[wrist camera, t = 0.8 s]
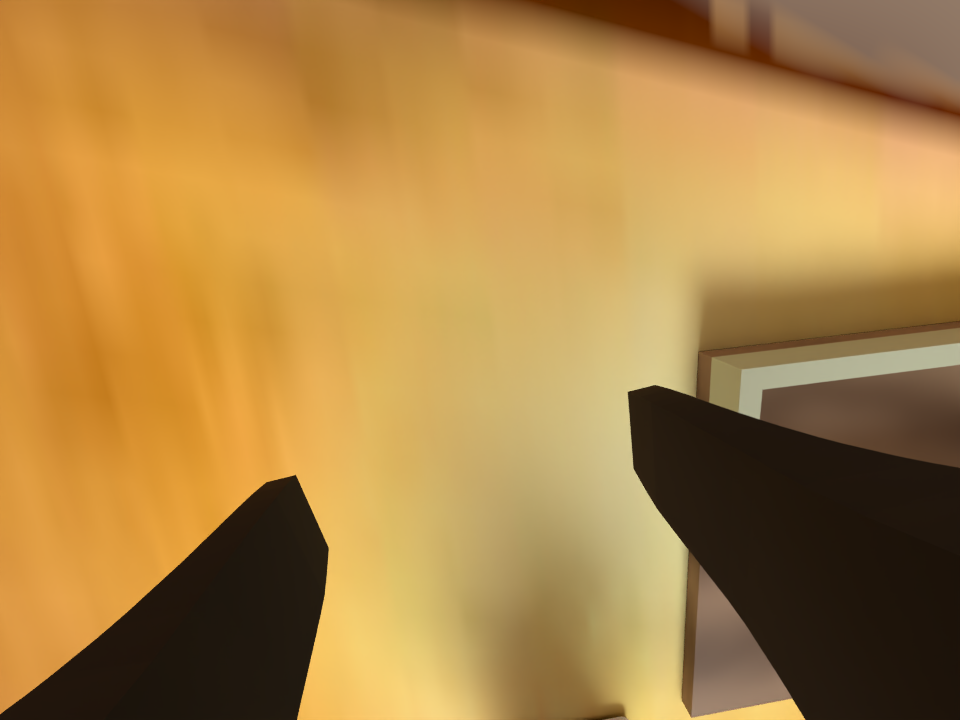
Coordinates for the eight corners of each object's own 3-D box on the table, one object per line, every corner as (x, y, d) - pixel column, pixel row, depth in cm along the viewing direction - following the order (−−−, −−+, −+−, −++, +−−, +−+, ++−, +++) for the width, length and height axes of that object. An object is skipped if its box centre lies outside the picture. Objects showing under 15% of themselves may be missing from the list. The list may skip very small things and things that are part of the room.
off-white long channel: (1017, 413, 23) (1072, 429, 21) (706, 456, 21) (733, 477, 19) (1042, 317, 21) (1102, 325, 20) (711, 357, 20) (741, 369, 18)
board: (948, 650, 28) (966, 665, 27) (682, 700, 27) (691, 717, 26) (1034, 312, 22) (1061, 315, 22) (698, 351, 21) (711, 357, 20)
